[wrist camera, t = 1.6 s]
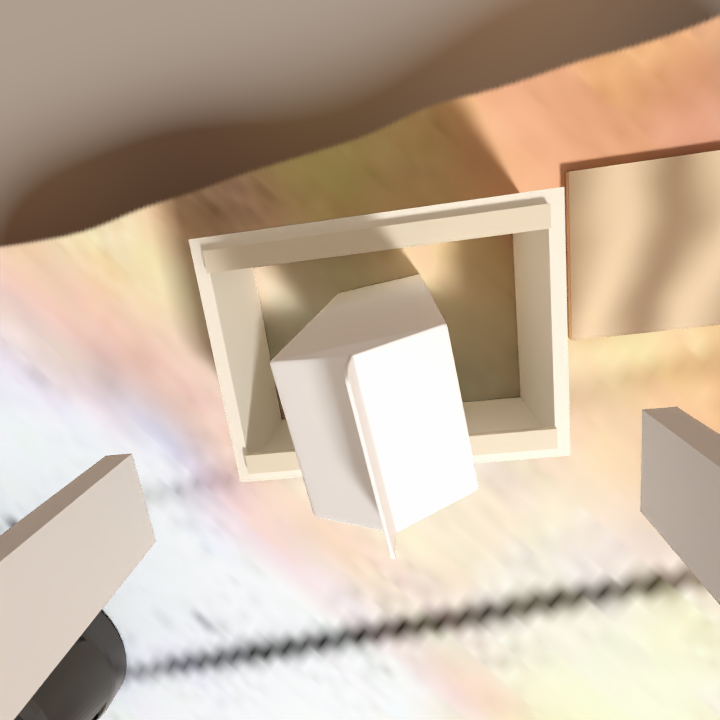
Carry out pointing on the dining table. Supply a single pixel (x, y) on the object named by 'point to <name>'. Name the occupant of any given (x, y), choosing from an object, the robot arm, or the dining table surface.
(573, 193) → the mat
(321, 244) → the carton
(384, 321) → the milk
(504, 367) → the dining table surface
